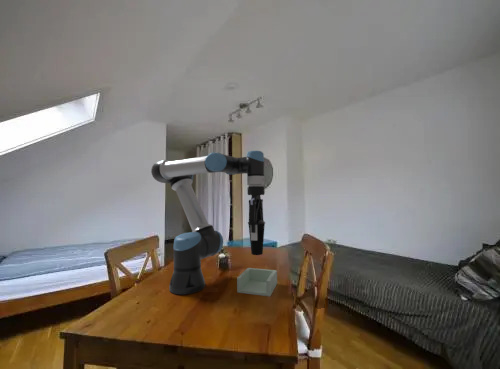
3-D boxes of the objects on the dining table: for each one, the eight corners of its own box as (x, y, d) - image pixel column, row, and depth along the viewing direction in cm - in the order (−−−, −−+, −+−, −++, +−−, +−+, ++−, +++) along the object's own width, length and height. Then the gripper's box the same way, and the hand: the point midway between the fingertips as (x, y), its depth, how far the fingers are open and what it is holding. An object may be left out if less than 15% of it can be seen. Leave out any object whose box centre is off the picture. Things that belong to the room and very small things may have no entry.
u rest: (237, 292, 97) (237, 277, 97) (248, 280, 110) (247, 267, 110) (270, 296, 92) (269, 281, 93) (277, 283, 106) (276, 270, 106)
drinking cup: (266, 251, 104) (266, 207, 105) (264, 256, 96) (263, 208, 97) (250, 251, 105) (249, 207, 106) (246, 255, 98) (245, 208, 99)
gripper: (257, 184, 92) (258, 243, 91) (269, 186, 111) (270, 235, 110) (240, 185, 94) (240, 242, 93) (254, 187, 113) (255, 234, 112)
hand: (256, 238), depth 101 cm, fingers closed on drinking cup, 7 cm apart
